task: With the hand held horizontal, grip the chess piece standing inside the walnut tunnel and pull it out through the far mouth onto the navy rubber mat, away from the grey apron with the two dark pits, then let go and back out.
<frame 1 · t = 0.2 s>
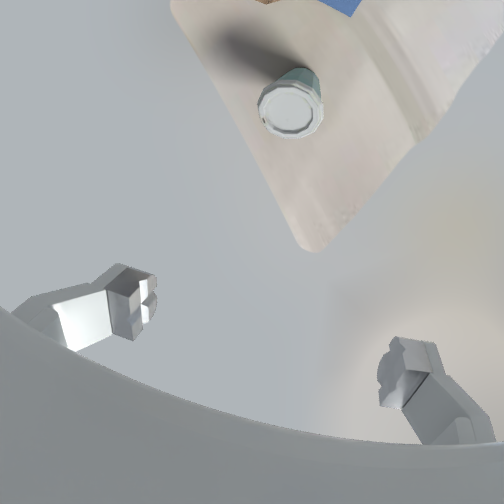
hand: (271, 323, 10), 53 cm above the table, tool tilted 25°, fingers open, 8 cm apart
disposable coffee cup: (303, 83, 52), on the table
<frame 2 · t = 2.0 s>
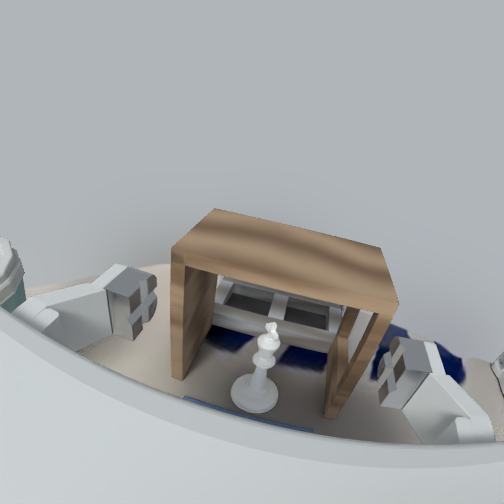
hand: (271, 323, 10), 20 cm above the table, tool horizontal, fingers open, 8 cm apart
disposable coffee cup: (16, 383, 23), on the table
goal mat: (236, 454, 23), on the table
chess piece: (254, 395, 30), on the table
tunnel: (261, 368, 33), on the table
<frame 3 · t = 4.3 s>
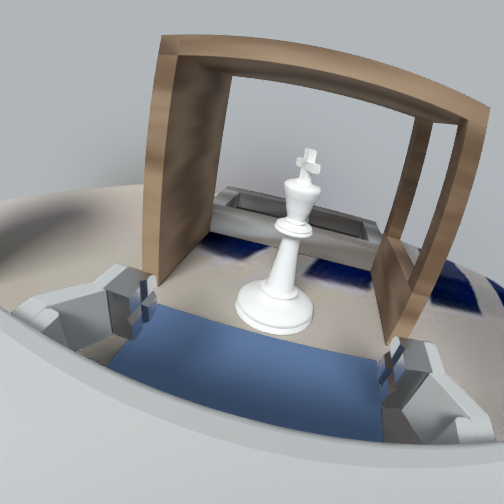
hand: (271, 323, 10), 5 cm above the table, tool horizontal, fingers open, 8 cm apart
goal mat: (245, 401, 13), on the table
chess piece: (273, 311, 19), on the table
tunnel: (282, 278, 23), on the table
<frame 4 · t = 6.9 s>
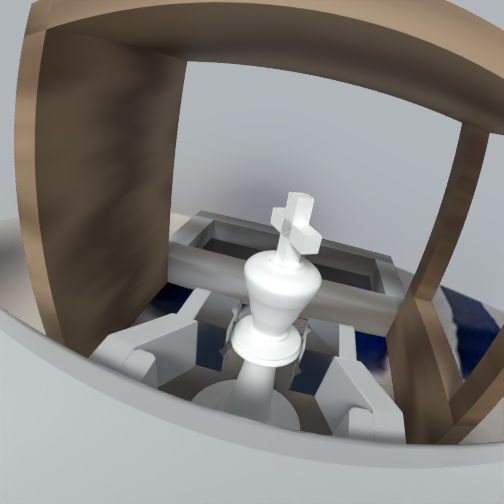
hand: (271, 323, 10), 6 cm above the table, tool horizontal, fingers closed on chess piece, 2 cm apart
chess piece: (240, 432, 12), on the table, touching gripper
tunnel: (260, 367, 15), on the table
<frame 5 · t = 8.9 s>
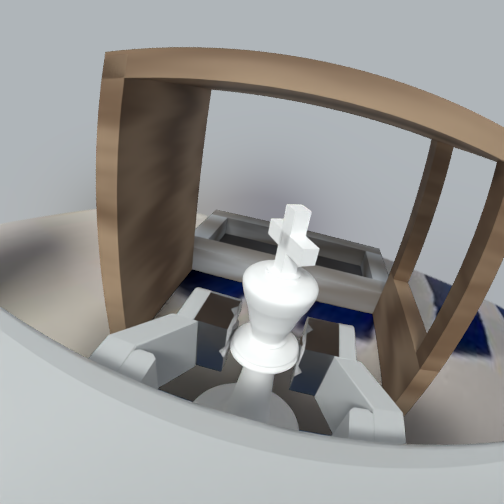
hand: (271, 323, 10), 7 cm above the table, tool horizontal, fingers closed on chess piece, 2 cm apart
chess piece: (240, 434, 12), point 1 cm above the table, touching gripper
tunnel: (271, 333, 20), on the table
when the fingers open (7 cm above the table, at t = 10.5 s): chess piece stays where it is, resting on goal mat.
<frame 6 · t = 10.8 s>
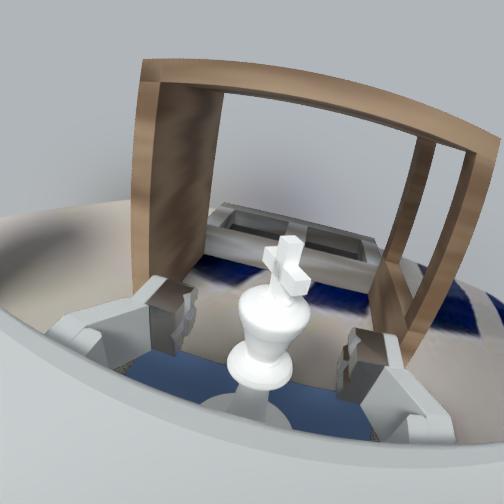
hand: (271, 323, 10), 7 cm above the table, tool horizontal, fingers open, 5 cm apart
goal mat: (236, 444, 12), on the table
chess piece: (238, 442, 12), resting on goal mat
tunnel: (277, 307, 22), on the table
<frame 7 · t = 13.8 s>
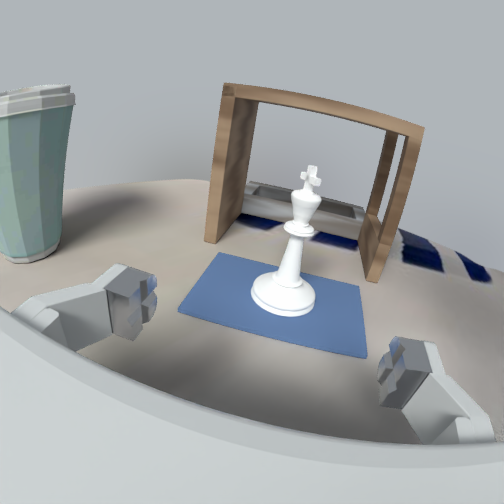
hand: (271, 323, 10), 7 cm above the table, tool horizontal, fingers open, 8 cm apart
disposable coffee cup: (28, 249, 23), on the table
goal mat: (281, 300, 23), on the table
chess piece: (282, 298, 23), resting on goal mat
tunnel: (295, 241, 34), on the table
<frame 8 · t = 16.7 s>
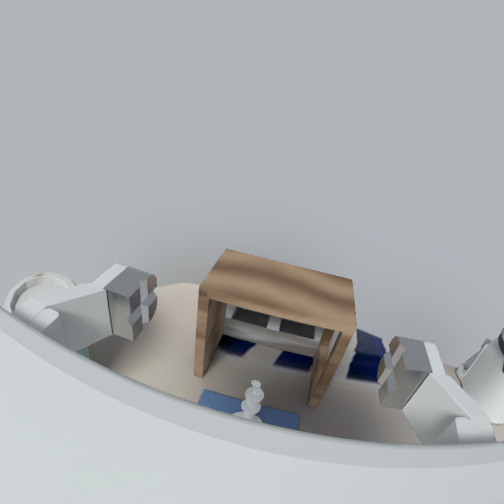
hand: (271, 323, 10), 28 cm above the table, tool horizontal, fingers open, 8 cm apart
disposable coffee cup: (69, 385, 33), on the table
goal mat: (243, 431, 33), on the table
chess piece: (243, 430, 33), resting on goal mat
tunnel: (261, 368, 43), on the table
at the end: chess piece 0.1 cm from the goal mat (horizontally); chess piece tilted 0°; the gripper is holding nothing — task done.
